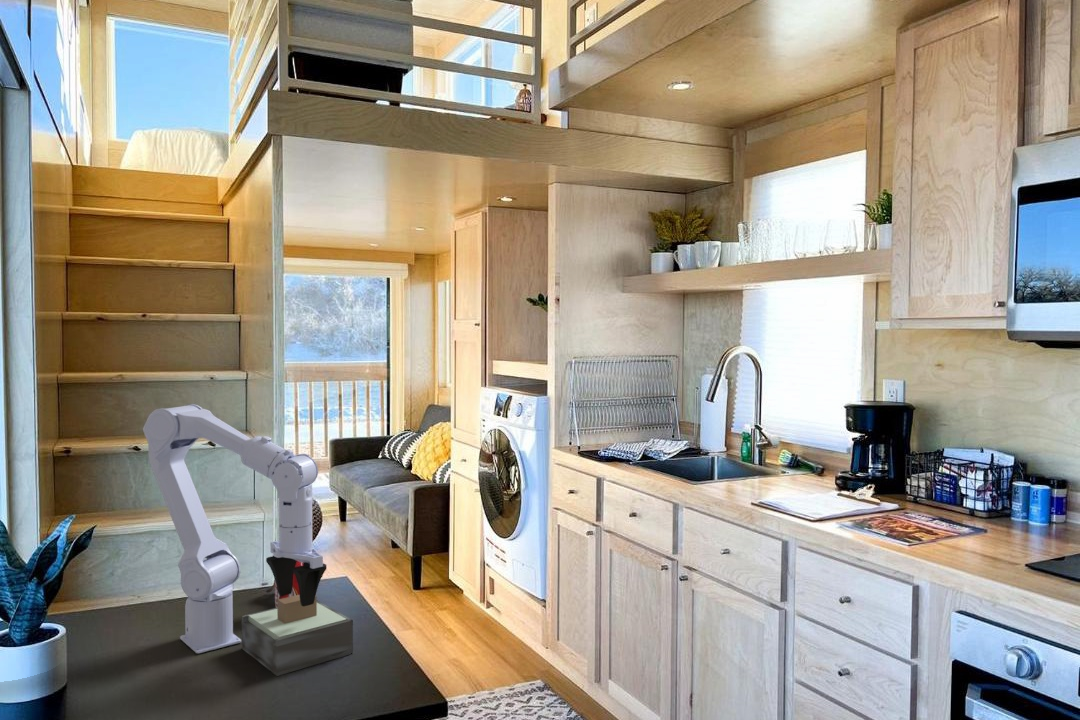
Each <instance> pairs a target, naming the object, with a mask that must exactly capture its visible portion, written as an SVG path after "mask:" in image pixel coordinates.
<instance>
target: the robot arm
mask: <svg viewBox="0 0 1080 720" xmlns="http://www.w3.org/2000/svg"><path fill="white" fill-rule="evenodd" d="M142 431H143V434H144V437H145V439H146V442H147V444H148V445H147V448H148V450H147V451H148V461H149V465H150V467H151V469H152V472H153V475H154V478H155V479H156V480H155V481H156V483H157V485H158V488H159V490H160V492H161V495H162V498H163V500H164V503H165V505H166V508H167V510H168V512H169V516H170V517H171V520H172V523H173V525H174V528H175V530H176V533H177V535H178V538H179V540H180V542H181V545H182V548H183V553H182V555H181V557H180V559H179V560H178V563H177V566H178V569H179V571H180V587H181V589H182V592H183V593H184V594H185V595H186V597H187V599H186V601H185V605H184V610H185V611H184V619H185V623H184V625H185V626H184V627H185V629H184V630H185V634H182V635H180V636H179V639H180V640H181V641H182V642H183V643H185V644H186V646H188V647H189V648H190V649H191V650H192V651H193V652H194V653H195V654H202V653H205V652H209V651H214V650H218V649H220V648H225V647H228V646H233V645H236V644H239V643H242V638H240V637H238V636H237V635H236V634H235V633H234V622H233V621H234V617H233V616H234V609H233V608H234V607H233V605H234V604H233V603H234V602H233V600H234V599H233V593H234V592H233V590H234V589H235V583H236V582H237V581H238V579H239V578H240V576H241V564H240V561H239V559H238V558H237V557H236V556H235V555H234V553H232V552H231V550H230V549H229V548H230V547H229V546H228V544H227V543H226V542H224V541H222V540H221V539H218V538H217V537H216V536H215V534H214V532H213V529H212V527H211V524H210V521H209V519H208V517H207V514H206V512H205V509H204V507H203V503H202V502H201V499H200V497H199V494H198V491H197V489H196V487H195V484H194V482H193V479H192V476H191V474H190V471H189V470H188V466H187V465H186V462H185V459H186V456H187V454H188V452H189V450H190V449H191V447H193V445H194V444H195V443H196V442H197V441H198V440H199V439H200V438H202V439H205V440H206V441H207V440H208V441H209V442H211V443H214V444H216V445H218V446H220V447H222V448H225V449H227V450H229V451H231V452H233V453H235V454H238V455H239V456H240V460H241V463H242V464H243V465H244V466H246V467H247V468H250V469H252V470H253V471H254V472H257V473H259V474H261V475H263V476H265V477H266V478H268V479H270V480H271V482H272V484H273V486H274V487H275V489H276V491H277V499H278V540H275V541H271V542H270V547H269V549H270V553H271V554H272V556H268V557H266V559H265V562H266V563H267V565H268V566H269V569H270V570H271V573H272V575H273V578H274V580H275V582H276V586H277V590H278V593H279V596H285V595H288V594H291V592H292V588H293V576H294V574H295V576H296V579H297V582H298V587H299V596H300V602H301V606H303V607H304V606H308V605H311V604H314V600H315V596H317V592H318V587H319V584H320V582H321V580H322V578H323V576H324V574H325V573H326V571H327V564H325V563H324V559H323V558H324V555H322V554H320V553H319V552H318V550H317V549H315V547H314V546H313V483H314V482H315V481H316V480H317V478H318V474H319V467H318V465H317V462H316V461H315V460H314V459H313V458H312V456H309V454H307V453H299V454H295V453H294V450H292V449H290V448H287V449H285V448H283V447H282V446H280V445H277V444H276V443H274V442H272V438H271V437H270V436H268V435H264V436H259V435H257V436H254V437H249V436H248V435H246V434H244V433H243V432H241V431H239V430H237V429H236V428H235V427H233V426H231V425H229V424H228V423H227V422H225V421H223V420H221V419H219V418H218V417H216V416H215V415H214V414H213V413H212V411H211V410H209V409H206V408H203V407H201V406H200V405H198V404H194V403H192V404H187V405H183V406H176V407H168V408H156V409H154V410H153V411H152V412H150V414H149V415H148V417H147V419H146V421H145V423H144V425H143V428H142ZM297 561H299V562H302V563H303V566H299V567H295V565H296V562H297ZM322 575H323V576H322Z"/></svg>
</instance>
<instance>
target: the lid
mask: <svg viewBox="0 0 1080 720" xmlns="http://www.w3.org/2000/svg"><path fill="white" fill-rule="evenodd" d="M317 600H318V599H317V595H316V596H315V600H314V604H311V605H308V606H304V607H303V606H301V602H300V596H299V595H295V596H291V597H287V598H282V599H278V600H277V609H274V610H270V611H265V610H264V611H265V612H261V613H257V614H253V615H249V616H248V620H249V622H251V623H252V624H253V625H255V626H256V627H258V628H259V629H261V630H262V631H263V632H265V633H266V634H268V635H269V636H271V637H272V638H273V639H279V638H282V637H286V636H290V635H294V634H298V633H301V632H305V631H309V630H313V629H316V628H320V627H324V626H328V625H331V624H335V623H339V622H343V621H346V619H345V618H344V617H342V616H340V615H338V614H336V613H335V612H333V611H331V610H329V609H328V608H326V607H324V606H322V605H321V604H319V603H317Z"/></svg>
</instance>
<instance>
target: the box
mask: <svg viewBox="0 0 1080 720" xmlns="http://www.w3.org/2000/svg"><path fill="white" fill-rule="evenodd" d="M317 603H319V604H321V605H322V606H324V607H326V608H328V609H329V610H331V611H333V612H335V613H336V614H338V615H340V616H342V617H344V618H345V619H346V621H343V622H339V623H335V624H331V625H328V626H324V627H320V628H316V629H313V630H309V631H305V632H301V633H298V634H294V635H290V636H286V637H282V638H279V639H273V638H272V637H271V636H269V635H268V634H266V633H265V632H263V631H262V630H261V629H259V628H258V627H256V626H255V625H253V624H252V623H251V622H249V620H248V616H249V615H253V614H257V613H261V612H265V611H270V610H274V609H277V608H276V607H273V608H270V609H266V610H265V609H264V610H262V611H261V610H260V611H257V612H253V613H248V614H245V615H241V649H242V650H243V652H244V651H245V653H247V654H248V655H249V656H251V657H252V658H253V659H255V661H257V662H258V663H260V664H261V665H262V666H263V667H265V668H266V669H267V670H268V671H270V672H271V673H272V674H274V675H275V676H276V677H279V676H281V675H282V676H283V675H286V674H289V673H292V672H295V671H299V670H302V669H305V668H308V667H309V668H310V667H312V666H315V665H319V664H322V663H326V662H328V661H333V660H336V659H339V658H342V657H346V656H349V655H352V654H351V653H354V621H353V619H351V618H350V617H348V616H346V615H345V614H343V613H341V612H339V611H337V610H335V609H334V608H332V607H330V606H328V605H327V604H325V603H323V602H321V601H319V600H318V599H317Z"/></svg>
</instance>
